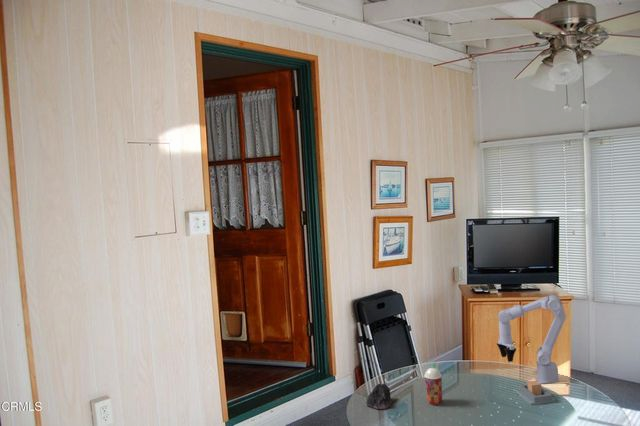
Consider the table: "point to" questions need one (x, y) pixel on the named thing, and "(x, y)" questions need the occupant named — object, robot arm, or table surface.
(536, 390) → the wooden block
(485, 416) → the table surface
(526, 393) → the well board
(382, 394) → the crystal cluster
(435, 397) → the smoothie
